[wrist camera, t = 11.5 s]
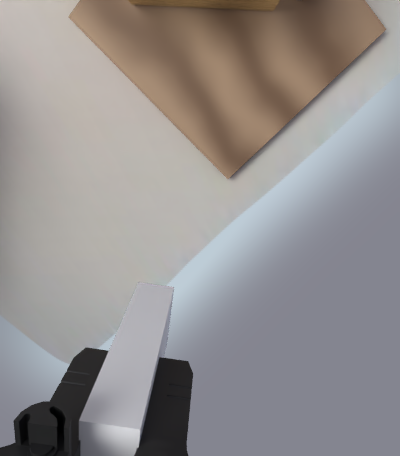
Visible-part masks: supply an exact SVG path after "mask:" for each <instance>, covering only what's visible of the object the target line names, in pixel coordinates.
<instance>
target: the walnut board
mask: <svg viewBox="0 0 400 456" xmlns="http://www.w3.org/2000/svg"><path fill="white" fill-rule="evenodd" d="M69 18H70V19H71V20H72V21H73V22H74V23H75V24H76V25H77V26H78V27H79V28H80V29H81V30H82V31H83V32H84V33H85V34H86V36H87V37H88V38H89V39H90V40H91V41H92V42H93V43H94V44H95V45H96V46H97V47H98V48H99V49H100V50H101V51H102V52H103V53H104V54H105V55H106V56H107V57H108V58H109V59H110V60H111V61H112V62H113V63H114V64H115V65H116V66H117V67H118V68H119V69H120V70H121V71H122V72H123V73H124V74H125V75H126V76H127V77H128V78H129V79H130V80H131V81H132V82H133V83H134V84H135V85H136V86H137V87H138V88H139V89H140V90H141V91H142V92H143V93H144V94H145V95H146V97H147V98H148V99H149V100H150V101H151V102H152V103H153V104H154V105H155V106H156V107H157V108H158V109H159V110H160V111H161V112H162V113H163V114H164V115H165V116H166V117H167V118H168V119H169V120H170V121H171V122H172V123H173V124H174V125H175V126H176V127H177V128H178V129H179V130H180V131H181V132H182V133H183V134H184V135H185V136H186V137H187V138H188V139H189V140H190V141H191V142H192V143H193V144H194V145H195V146H196V147H197V148H198V149H199V150H200V151H201V152H202V153H203V154H204V155H205V156H206V158H207V159H208V160H209V161H210V162H211V163H212V164H213V165H214V166H215V167H216V168H217V169H218V170H219V171H220V172H221V173H222V174H223V175H224V176H225V177H226V178H227V179H229V178H230V177H231V176H232V175H233V174H234V173H235V172H236V171H237V170H238V169H239V168H240V167H241V166H243V165H244V164H245V163H246V162H247V161H248V160H249V159H250V158H251V157H252V156H253V155H254V154H255V153H256V152H257V151H258V150H259V149H260V148H262V147H263V146H264V145H265V144H266V143H267V142H268V141H269V140H270V139H271V138H272V137H273V136H274V135H275V134H276V133H277V132H278V131H279V130H281V129H282V128H283V127H284V126H285V125H286V124H287V123H288V122H289V121H290V120H291V119H292V118H293V117H294V116H295V115H296V114H297V113H298V112H300V111H301V110H302V109H303V108H304V107H305V106H306V105H307V104H308V103H309V102H310V101H311V100H312V99H313V98H314V97H315V96H316V95H318V94H319V93H320V92H321V91H322V90H323V89H324V88H325V87H326V86H327V85H328V84H329V83H330V82H331V81H332V80H333V79H334V78H335V77H337V76H338V75H339V74H340V73H341V72H342V71H343V70H344V69H345V68H346V67H347V66H348V65H349V64H350V63H351V62H352V61H353V60H354V59H356V58H357V57H358V56H359V55H360V54H361V53H362V52H363V51H364V50H365V49H366V48H367V47H368V46H369V45H370V44H371V43H372V42H374V41H375V40H376V39H377V38H378V37H379V36H380V35H381V34H382V33H383V32H384V31H385V30H386V28H385V27H384V26H383V24H382V23H381V22H380V20H379V19H378V17H377V16H376V15H375V13H374V12H373V11H372V9H371V8H370V7H369V5H368V4H367V3H366V1H365V0H280V1H279V3H278V4H277V6H276V8H275V9H274V11H261V10H239V9H217V8H196V7H174V6H152V5H132V4H131V3H130V2H129V1H128V0H80V1H79V3H78V4H77V5H76V7H75V8H74V10H73V11H72V12H71V14H70V15H69Z"/></svg>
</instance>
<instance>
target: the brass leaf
mask: <svg viewBox="0 0 400 456" xmlns="http://www.w3.org/2000/svg"><path fill="white" fill-rule="evenodd" d="M128 1H129V2H130V3H131V4H132V5H152V6H174V7H196V8H217V9H239V10H261V11H274V9H275V8H276V6H277V4H278V3H279V1H280V0H128Z"/></svg>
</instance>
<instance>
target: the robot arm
mask: <svg viewBox="0 0 400 456" xmlns="http://www.w3.org/2000/svg"><path fill="white" fill-rule="evenodd" d="M173 291H174V287H169V286H162V285H155V284H148V283H141V282H138V284H137V286H136V289H135V291H134V293H133V296H132V298H131V300H130V303H129V305H128V307H127V310H126V312H125V314H124V317H123V319H122V321H121V324H120V326H119V328H118V331H117V333H116V335H115V338H114V340H113V343H112V345H111V347H110V350H109V351H106V350H99V349H92V348H85V349H84V350H82V351H81V352H80V353H79V354H78V355H76V356H75V357H74V358H73V360H72V362H71V364H70V366H69V367H68V369H67V372H66V373H65V375H64V377H63V378H62V380H61V383H60V384H59V386H58V387H57V389H56V391H55V393H54V395H53V397H52V398H51V400H50V402H41V403H37V404H34V405H31V406H30V407H28V408H27V409H25V410H24V411H22V412H21V413H20V414H19V415H18V416H17V418H16V419H15V420H14V430H15V440H16V443H13V444H11V445H8V446H5V447H1V448H0V456H188V453H187V445H186V441H187V432H188V421H189V411H190V400H191V389H192V379H193V372H192V370H191V368H190V365H189V363H188V361H182V360H175V359H168V358H164V354H165V349H166V345H167V340H168V331H169V323H170V315H171V307H172V299H173Z"/></svg>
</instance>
